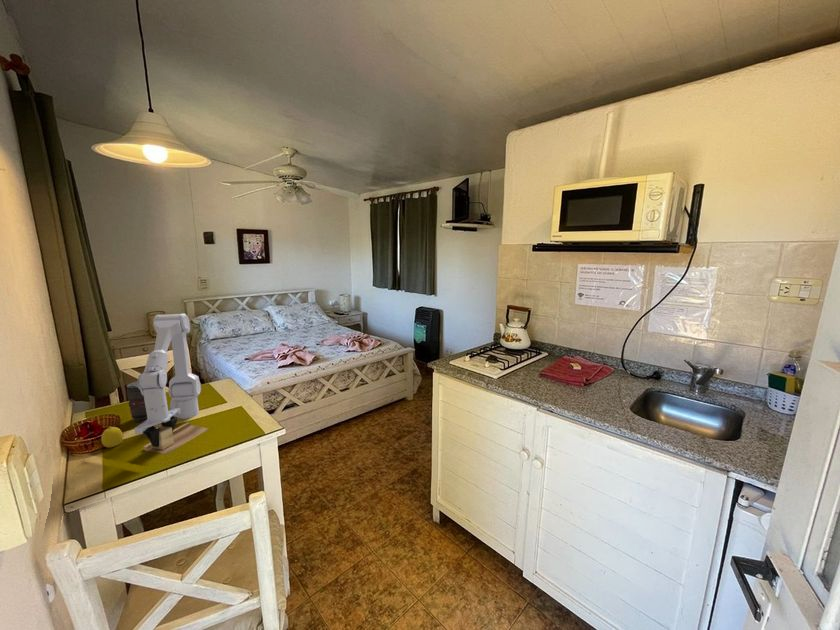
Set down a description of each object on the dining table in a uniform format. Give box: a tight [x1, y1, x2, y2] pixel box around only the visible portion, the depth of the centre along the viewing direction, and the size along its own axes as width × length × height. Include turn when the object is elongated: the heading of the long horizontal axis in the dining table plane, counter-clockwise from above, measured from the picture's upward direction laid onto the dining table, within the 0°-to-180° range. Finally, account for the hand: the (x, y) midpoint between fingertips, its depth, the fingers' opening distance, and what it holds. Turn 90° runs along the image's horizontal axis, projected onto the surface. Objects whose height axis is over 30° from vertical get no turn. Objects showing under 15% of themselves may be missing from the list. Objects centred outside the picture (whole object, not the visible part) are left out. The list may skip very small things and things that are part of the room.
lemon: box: [100, 426, 124, 448], centre depth 119 cm, size 6×6×8 cm
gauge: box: [151, 425, 174, 450], centre depth 118 cm, size 5×4×7 cm
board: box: [142, 422, 210, 455], centre depth 123 cm, size 10×17×3 cm, turn 166°
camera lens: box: [126, 381, 148, 423], centre depth 139 cm, size 8×8×15 cm
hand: (162, 442), depth 119 cm, fingers closed on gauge, 4 cm apart
